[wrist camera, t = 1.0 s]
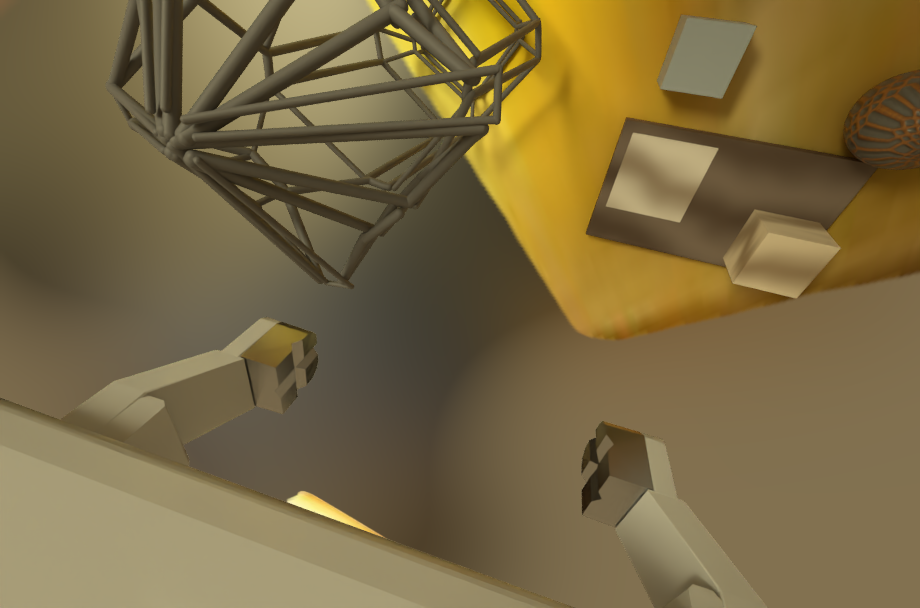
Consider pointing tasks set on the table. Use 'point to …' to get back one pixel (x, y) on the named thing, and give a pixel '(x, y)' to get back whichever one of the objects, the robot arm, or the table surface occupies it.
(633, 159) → the board
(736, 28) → the top block
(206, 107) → the geometric lantern
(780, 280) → the block
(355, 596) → the robot arm
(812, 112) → the table surface
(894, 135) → the vase
